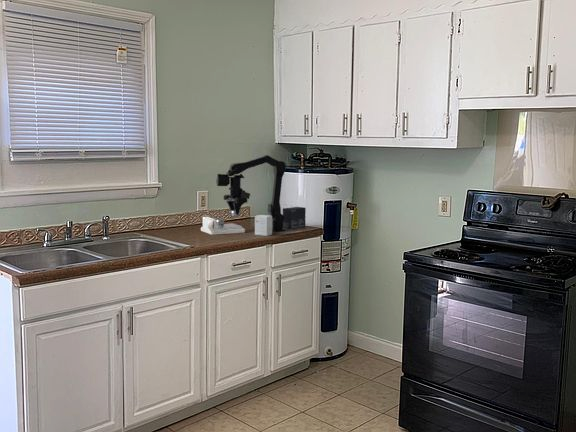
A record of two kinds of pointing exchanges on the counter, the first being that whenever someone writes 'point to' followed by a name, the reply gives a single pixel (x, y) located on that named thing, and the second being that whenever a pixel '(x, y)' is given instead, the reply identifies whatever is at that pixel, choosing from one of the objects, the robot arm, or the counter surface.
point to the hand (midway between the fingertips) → (235, 214)
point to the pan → (229, 226)
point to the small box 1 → (263, 225)
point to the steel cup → (234, 213)
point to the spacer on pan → (220, 222)
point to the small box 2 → (294, 217)
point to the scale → (212, 227)
